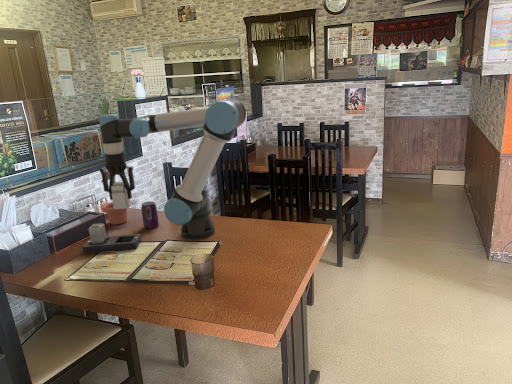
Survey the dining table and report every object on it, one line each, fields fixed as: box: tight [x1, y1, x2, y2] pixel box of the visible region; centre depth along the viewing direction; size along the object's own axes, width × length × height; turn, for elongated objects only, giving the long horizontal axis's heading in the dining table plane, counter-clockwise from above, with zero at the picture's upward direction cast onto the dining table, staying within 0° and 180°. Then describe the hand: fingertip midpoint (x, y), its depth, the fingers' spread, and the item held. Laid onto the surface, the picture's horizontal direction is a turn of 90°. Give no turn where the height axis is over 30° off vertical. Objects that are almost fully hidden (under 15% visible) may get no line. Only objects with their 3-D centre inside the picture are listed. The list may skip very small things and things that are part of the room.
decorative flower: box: [101, 170, 131, 225], centre depth 198 cm, size 15×14×30 cm
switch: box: [81, 222, 142, 255], centre depth 168 cm, size 22×10×11 cm, turn 93°
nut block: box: [111, 181, 129, 209], centre depth 166 cm, size 5×5×11 cm
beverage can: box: [140, 201, 160, 229], centre depth 189 cm, size 7×7×12 cm
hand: (122, 206), depth 167 cm, fingers closed on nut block, 5 cm apart
